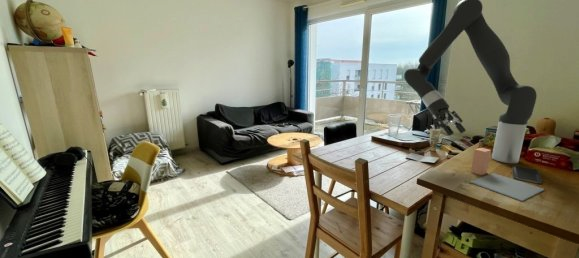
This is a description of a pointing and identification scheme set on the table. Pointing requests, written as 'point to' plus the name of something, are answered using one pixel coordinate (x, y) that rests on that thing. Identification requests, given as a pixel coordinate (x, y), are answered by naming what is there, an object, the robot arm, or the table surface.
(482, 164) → the block
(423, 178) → the table surface
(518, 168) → the phone
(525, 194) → the mat
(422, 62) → the robot arm
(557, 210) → the table surface
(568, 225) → the table surface
